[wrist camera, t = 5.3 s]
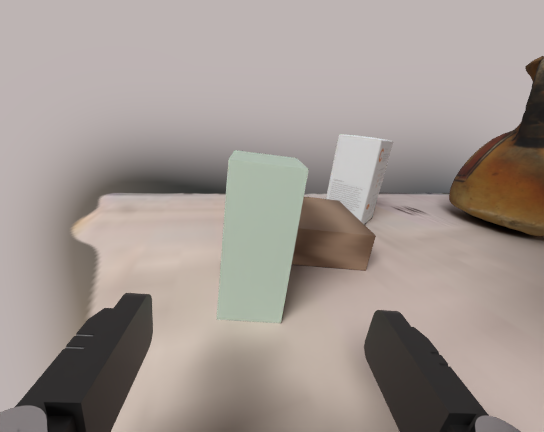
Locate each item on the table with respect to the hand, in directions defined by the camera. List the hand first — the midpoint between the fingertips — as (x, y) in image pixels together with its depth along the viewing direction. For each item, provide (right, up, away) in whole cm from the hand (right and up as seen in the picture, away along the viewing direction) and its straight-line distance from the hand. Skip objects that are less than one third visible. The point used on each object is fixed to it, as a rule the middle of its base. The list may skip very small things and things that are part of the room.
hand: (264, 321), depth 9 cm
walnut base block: (+4, +1, +23) cm, 23 cm away
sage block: (-1, -3, +11) cm, 11 cm away
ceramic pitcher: (+45, +2, +42) cm, 62 cm away
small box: (+13, +3, +34) cm, 37 cm away
